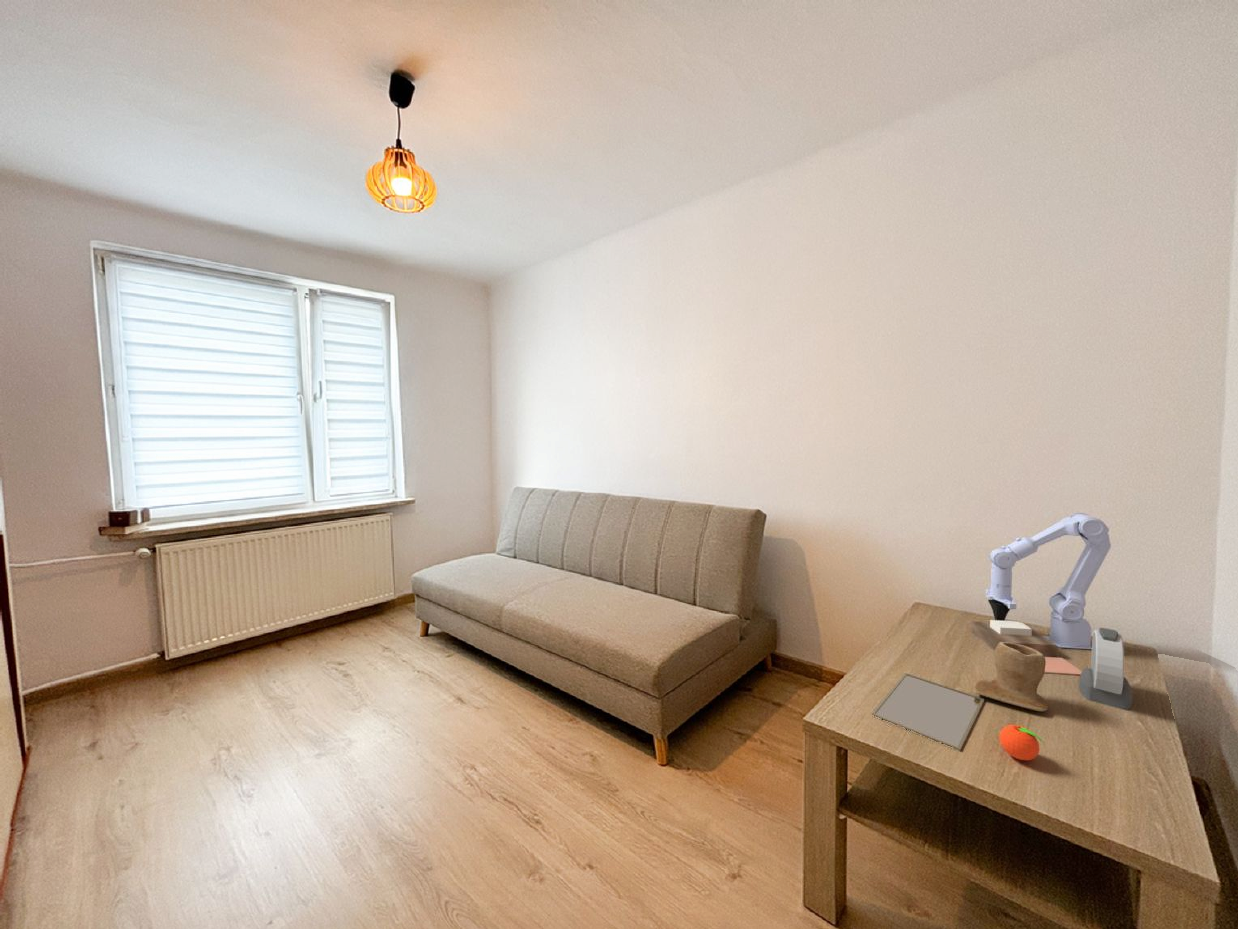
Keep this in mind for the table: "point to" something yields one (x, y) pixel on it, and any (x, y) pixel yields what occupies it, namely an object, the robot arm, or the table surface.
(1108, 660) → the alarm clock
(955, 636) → the table surface
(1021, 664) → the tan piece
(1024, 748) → the clementine
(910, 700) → the picture frame
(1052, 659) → the mat
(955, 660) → the table surface
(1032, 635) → the plate
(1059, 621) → the robot arm
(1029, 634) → the tile
